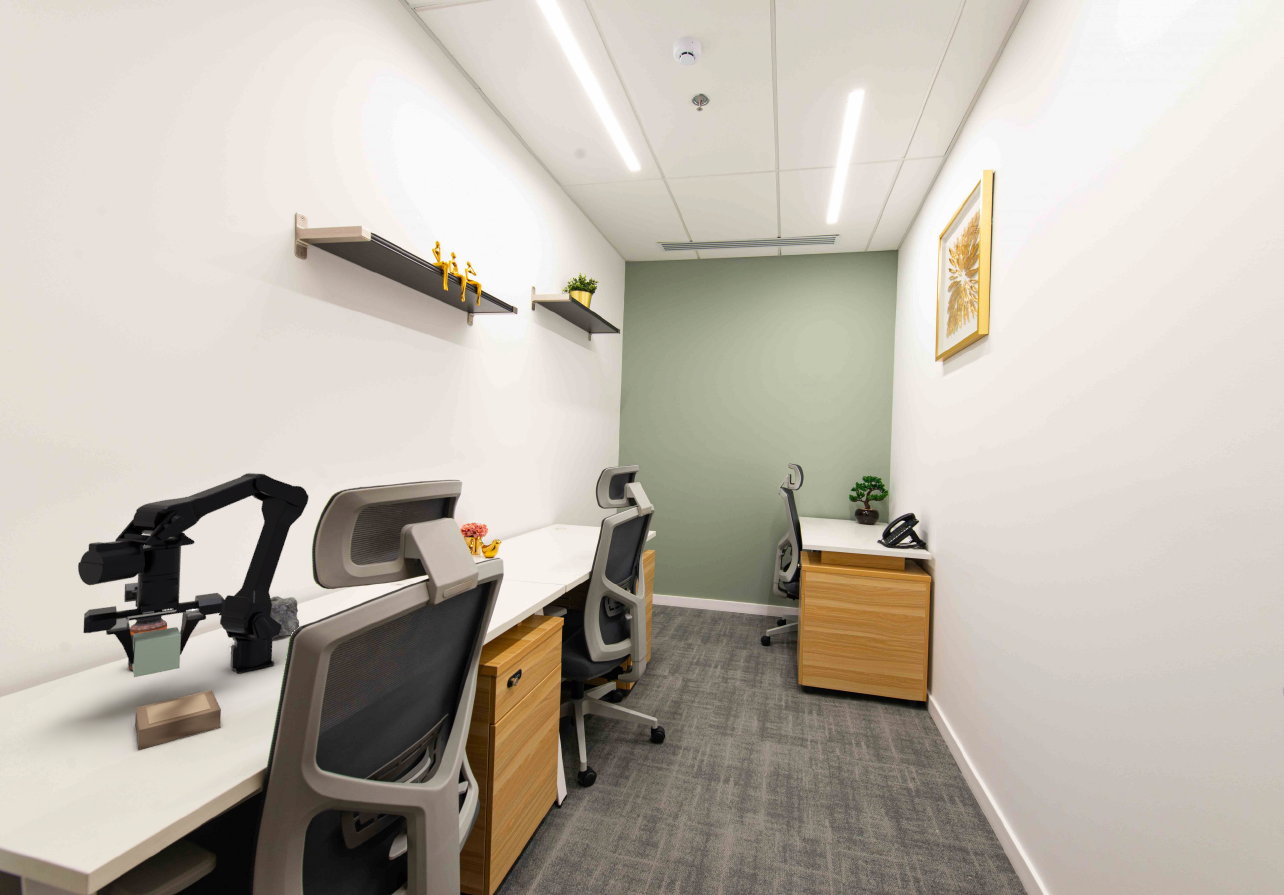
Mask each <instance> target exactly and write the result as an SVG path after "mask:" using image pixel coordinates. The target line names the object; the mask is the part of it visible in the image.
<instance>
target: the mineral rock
mask: <svg viewBox="0 0 1284 895" xmlns="http://www.w3.org/2000/svg"><path fill="white" fill-rule="evenodd" d="M270 598H271V602H272V609H271V615H270V617H272V618H273V619H274V620H275V621H277V622H278V623H279V624H281V626H282V627H281V630H280V633H279V635H278V636H275V637H274V638H276V637H277V638H278V637H282V636H289V635H290V636H291V634H292V632H294V630H296V629H297V628H298V627H299V628H300V620H299V619H298V613H299V610H298V601H297V599H296V598H295V597H293V596H290V597H284V598H282V597H281V596H278V595H277V596H272V597H270ZM231 639H232V640H233V641H234V642H235V638H231Z"/></svg>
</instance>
